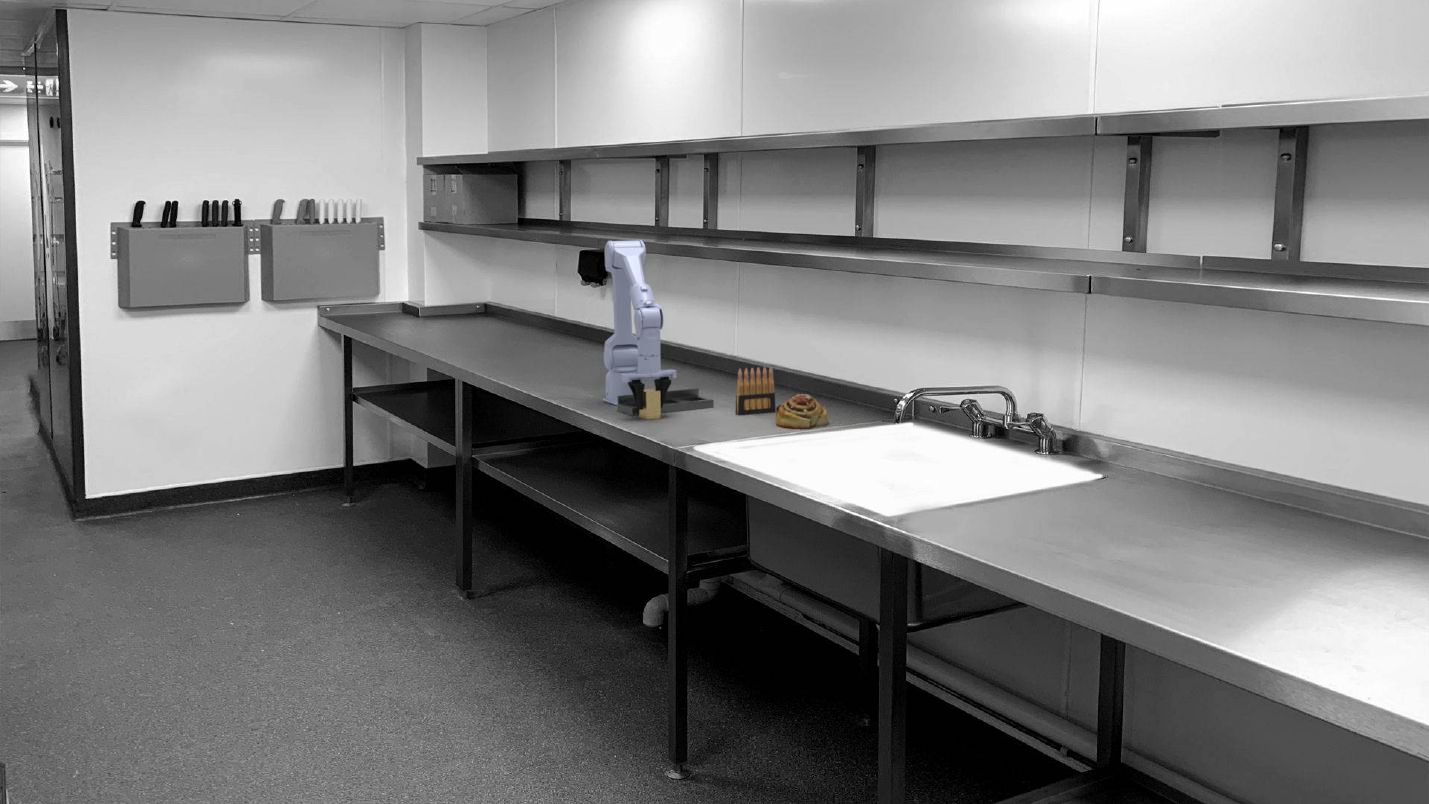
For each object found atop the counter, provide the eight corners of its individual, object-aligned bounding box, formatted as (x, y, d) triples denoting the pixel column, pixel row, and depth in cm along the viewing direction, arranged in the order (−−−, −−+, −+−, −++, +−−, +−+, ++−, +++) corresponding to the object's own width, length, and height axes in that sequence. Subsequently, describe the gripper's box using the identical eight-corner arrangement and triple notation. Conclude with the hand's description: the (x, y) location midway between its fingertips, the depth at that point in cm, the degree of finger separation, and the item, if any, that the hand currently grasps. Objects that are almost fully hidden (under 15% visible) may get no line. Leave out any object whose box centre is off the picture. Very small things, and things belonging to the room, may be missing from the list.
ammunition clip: (738, 415, 307) (738, 369, 305) (735, 414, 309) (735, 368, 307) (775, 412, 312) (775, 366, 309) (772, 411, 313) (772, 365, 311)
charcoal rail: (617, 410, 314) (617, 395, 314) (697, 402, 326) (697, 387, 325) (632, 416, 307) (632, 400, 306) (713, 407, 319) (713, 392, 318)
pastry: (779, 430, 288) (779, 397, 287) (771, 419, 303) (771, 387, 302) (834, 429, 290) (834, 396, 288) (823, 417, 304) (823, 386, 303)
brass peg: (639, 417, 306) (639, 390, 305) (653, 415, 308) (653, 388, 307) (646, 419, 302) (646, 392, 301) (660, 418, 304) (660, 390, 303)
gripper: (630, 358, 295) (631, 413, 298) (682, 354, 302) (682, 407, 305) (617, 355, 301) (618, 408, 304) (668, 351, 308) (669, 403, 311)
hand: (649, 408), depth 305 cm, fingers open, 5 cm apart
